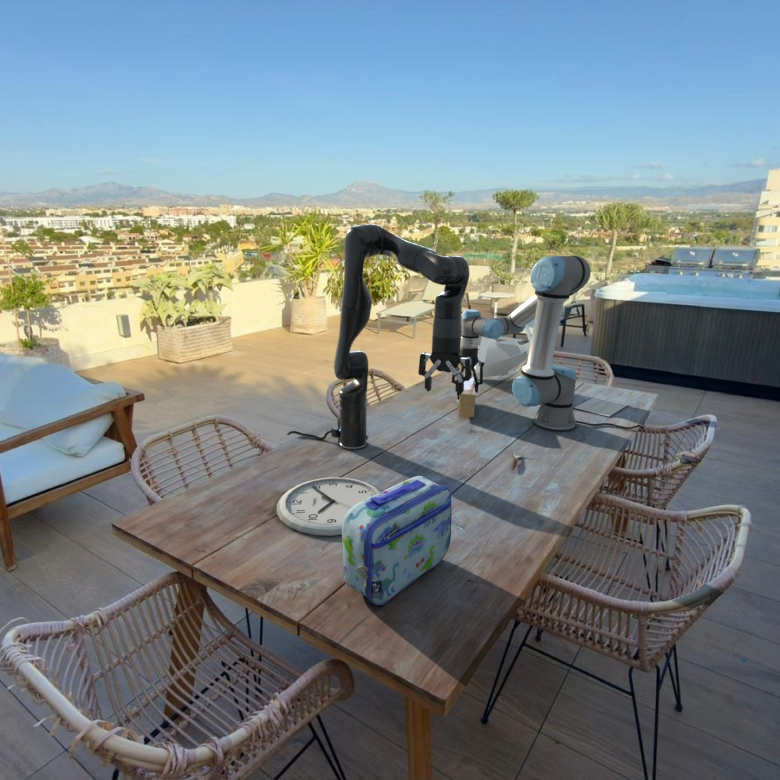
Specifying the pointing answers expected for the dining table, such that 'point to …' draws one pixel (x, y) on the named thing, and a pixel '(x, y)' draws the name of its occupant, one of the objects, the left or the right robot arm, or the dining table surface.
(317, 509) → the wall clock
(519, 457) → the fork
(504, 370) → the white plastic object
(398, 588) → the lunch box
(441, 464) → the dining table surface
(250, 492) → the dining table surface
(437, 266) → the left robot arm
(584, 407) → the invitation card
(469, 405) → the bar
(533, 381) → the right robot arm
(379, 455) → the dining table surface
